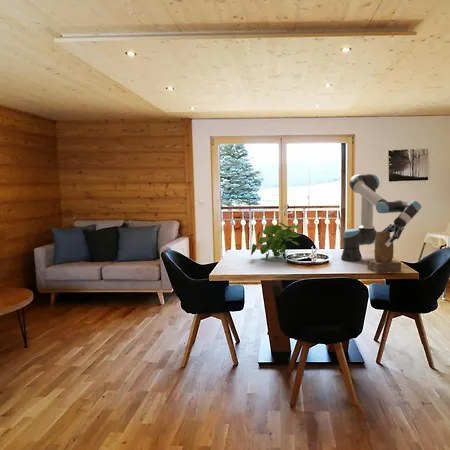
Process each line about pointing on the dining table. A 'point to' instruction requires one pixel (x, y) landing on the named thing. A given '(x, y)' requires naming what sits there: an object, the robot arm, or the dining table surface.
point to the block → (383, 247)
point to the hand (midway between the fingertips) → (380, 244)
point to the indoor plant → (275, 239)
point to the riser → (384, 266)
